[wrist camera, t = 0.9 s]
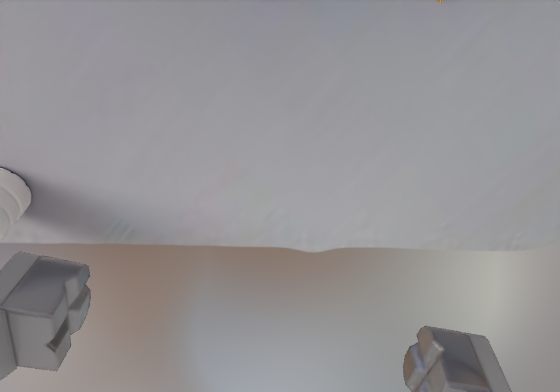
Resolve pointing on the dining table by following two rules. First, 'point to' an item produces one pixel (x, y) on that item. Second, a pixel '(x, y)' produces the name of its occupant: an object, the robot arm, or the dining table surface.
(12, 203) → the water bottle
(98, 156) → the dining table surface
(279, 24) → the dining table surface
